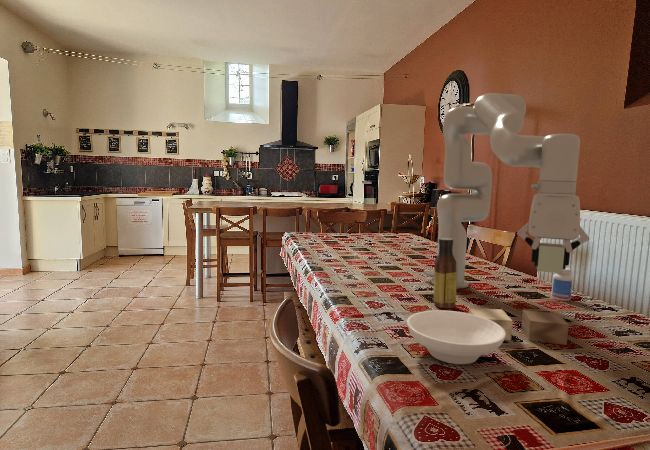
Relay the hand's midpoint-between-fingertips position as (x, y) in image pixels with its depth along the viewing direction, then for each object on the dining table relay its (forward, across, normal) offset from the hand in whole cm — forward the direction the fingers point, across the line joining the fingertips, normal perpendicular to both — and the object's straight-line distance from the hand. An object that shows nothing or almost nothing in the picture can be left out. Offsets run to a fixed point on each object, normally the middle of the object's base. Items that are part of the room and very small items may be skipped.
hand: (549, 266), depth 97 cm
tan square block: (+17, 0, 0) cm, 17 cm away
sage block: (+1, 0, 0) cm, 1 cm away
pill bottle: (+17, +7, +38) cm, 42 cm away
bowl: (+17, -18, -22) cm, 33 cm away
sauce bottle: (+17, -25, +12) cm, 33 cm away
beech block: (+17, -12, -4) cm, 22 cm away
